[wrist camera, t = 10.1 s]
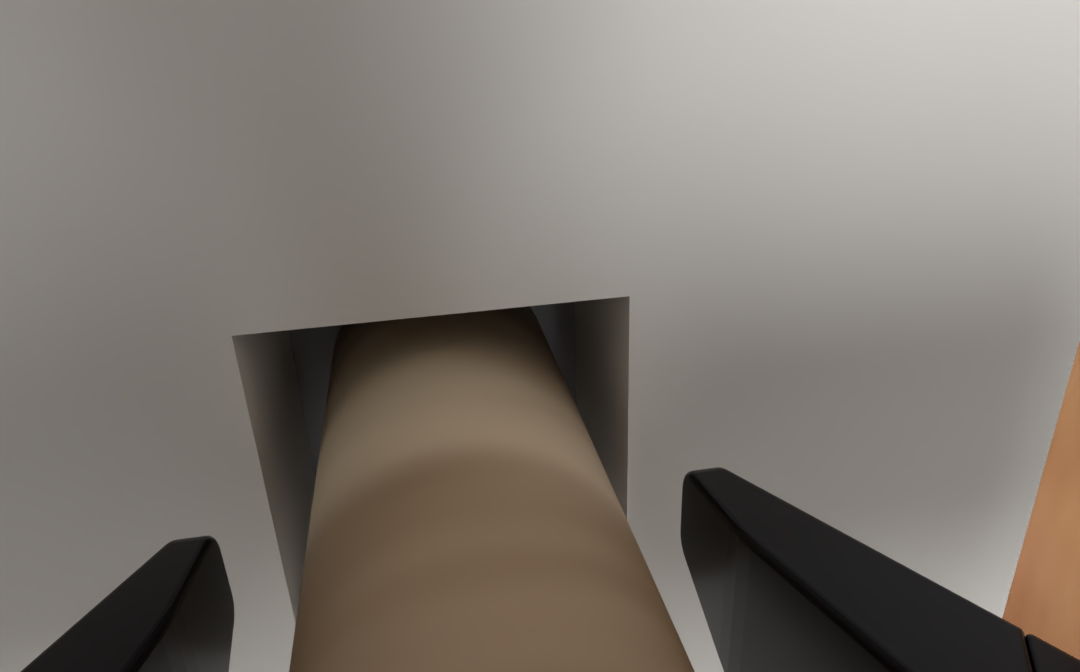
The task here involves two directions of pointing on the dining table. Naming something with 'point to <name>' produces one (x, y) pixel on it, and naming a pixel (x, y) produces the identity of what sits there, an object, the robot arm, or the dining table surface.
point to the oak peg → (468, 514)
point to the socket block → (531, 265)
